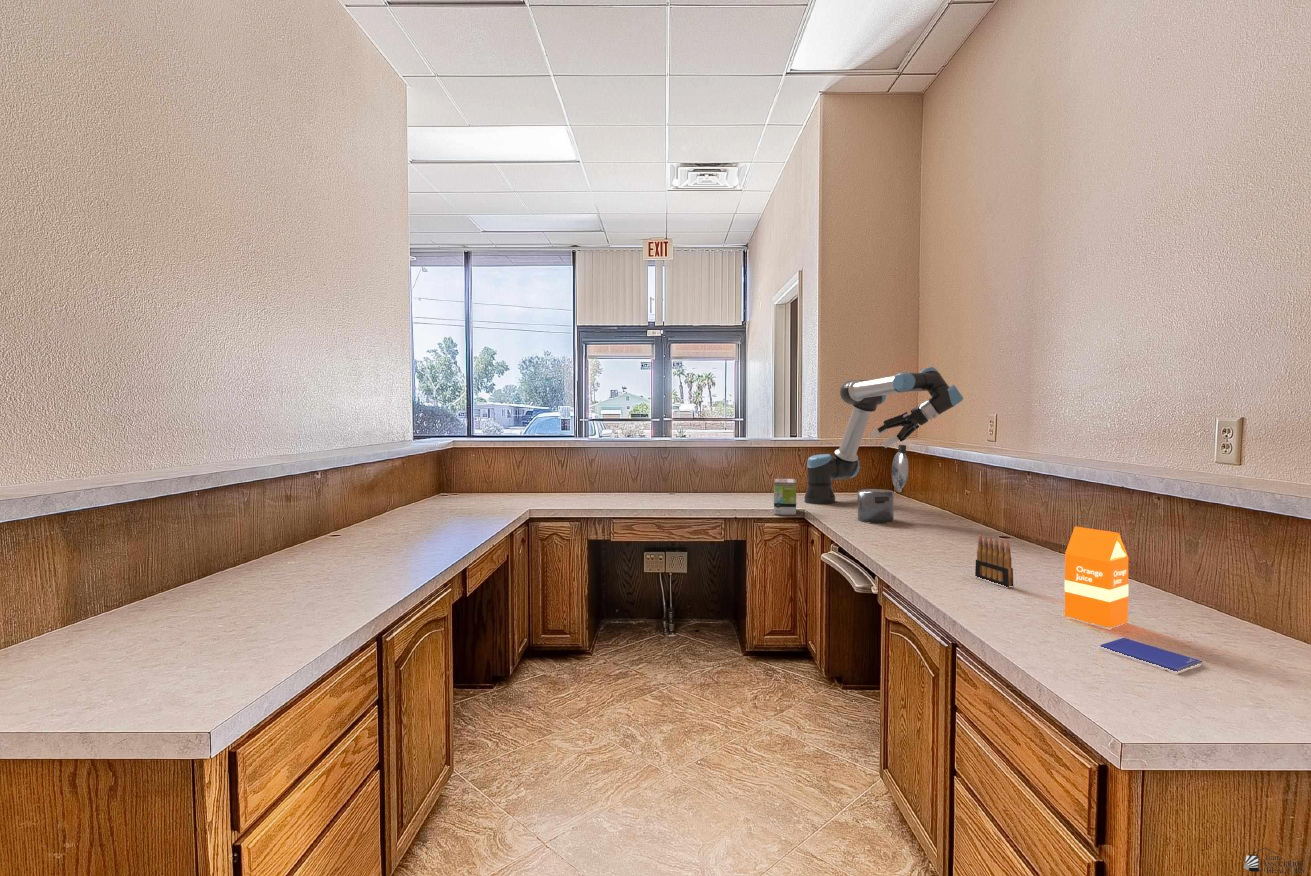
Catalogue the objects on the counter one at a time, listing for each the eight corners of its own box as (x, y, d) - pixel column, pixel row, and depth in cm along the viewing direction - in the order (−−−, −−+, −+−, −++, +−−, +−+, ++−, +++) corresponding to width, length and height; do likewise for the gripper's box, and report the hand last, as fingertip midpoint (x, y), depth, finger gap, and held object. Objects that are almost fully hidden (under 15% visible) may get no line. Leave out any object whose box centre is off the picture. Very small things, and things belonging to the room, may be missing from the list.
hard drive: (1202, 659, 107) (1125, 636, 119) (1177, 669, 104) (1099, 644, 115) (1202, 668, 107) (1124, 644, 119) (1177, 677, 104) (1099, 652, 115)
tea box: (797, 515, 266) (796, 481, 265) (773, 514, 268) (773, 482, 267) (795, 509, 280) (795, 477, 280) (774, 509, 282) (773, 478, 282)
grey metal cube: (852, 516, 259) (852, 488, 258) (885, 515, 258) (885, 488, 257) (865, 524, 241) (864, 494, 240) (900, 523, 240) (900, 494, 240)
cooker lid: (893, 443, 255) (901, 444, 255) (890, 488, 256) (897, 489, 256) (906, 446, 240) (914, 446, 240) (902, 493, 241) (910, 494, 241)
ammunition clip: (974, 577, 164) (974, 534, 164) (980, 577, 165) (980, 533, 164) (1008, 588, 154) (1008, 542, 154) (1013, 587, 155) (1013, 541, 154)
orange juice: (1083, 611, 136) (1083, 524, 135) (1128, 623, 128) (1129, 530, 127) (1063, 618, 132) (1064, 528, 131) (1109, 630, 124) (1110, 535, 124)
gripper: (919, 409, 235) (871, 438, 244) (937, 429, 253) (892, 456, 262) (909, 395, 240) (862, 424, 248) (928, 416, 257) (884, 442, 266)
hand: (877, 440), depth 255 cm, fingers open, 13 cm apart
